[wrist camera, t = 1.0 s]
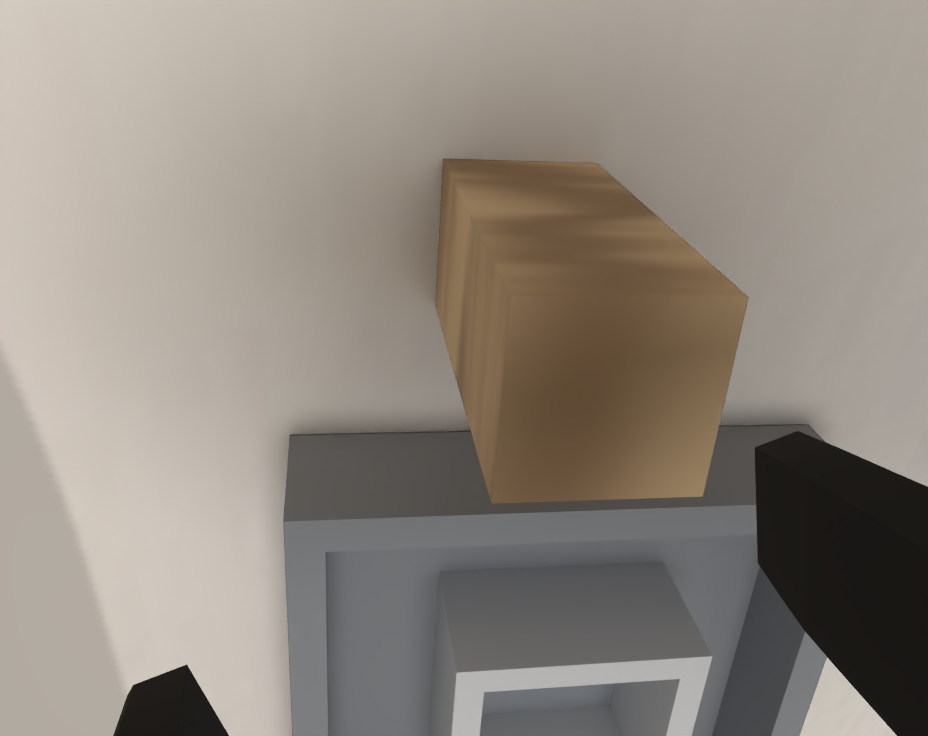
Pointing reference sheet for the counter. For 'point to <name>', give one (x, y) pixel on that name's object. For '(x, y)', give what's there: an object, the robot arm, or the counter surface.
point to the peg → (580, 334)
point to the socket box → (530, 601)
